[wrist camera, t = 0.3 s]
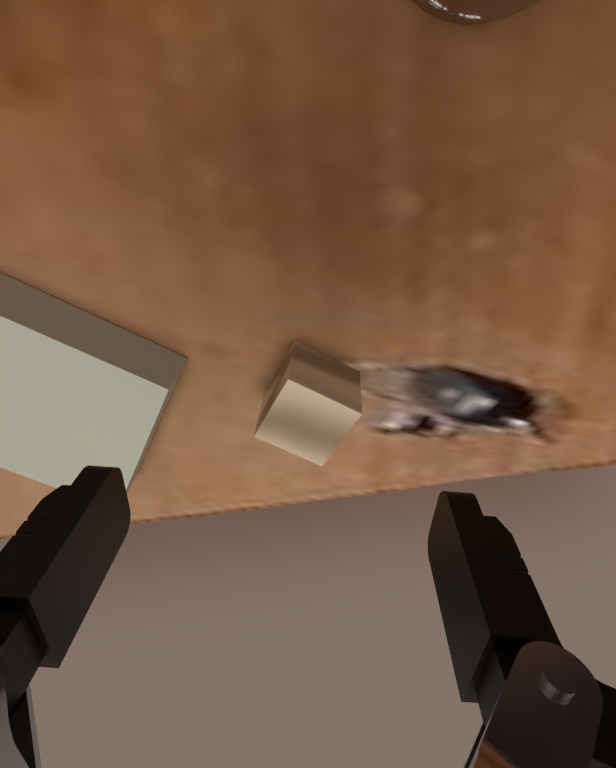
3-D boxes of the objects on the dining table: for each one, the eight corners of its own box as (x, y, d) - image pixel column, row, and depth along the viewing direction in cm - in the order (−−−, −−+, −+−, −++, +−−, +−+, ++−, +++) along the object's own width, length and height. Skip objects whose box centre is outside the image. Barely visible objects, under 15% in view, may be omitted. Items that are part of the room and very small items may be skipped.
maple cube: (295, 339, 30) (288, 379, 26) (359, 370, 31) (362, 414, 27) (264, 392, 32) (253, 436, 28) (324, 419, 33) (322, 466, 29)
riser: (-5, 270, 28) (-51, 293, 25) (187, 358, 31) (168, 389, 28) (-22, 411, 35) (-61, 445, 31) (137, 473, 37) (117, 510, 34)
